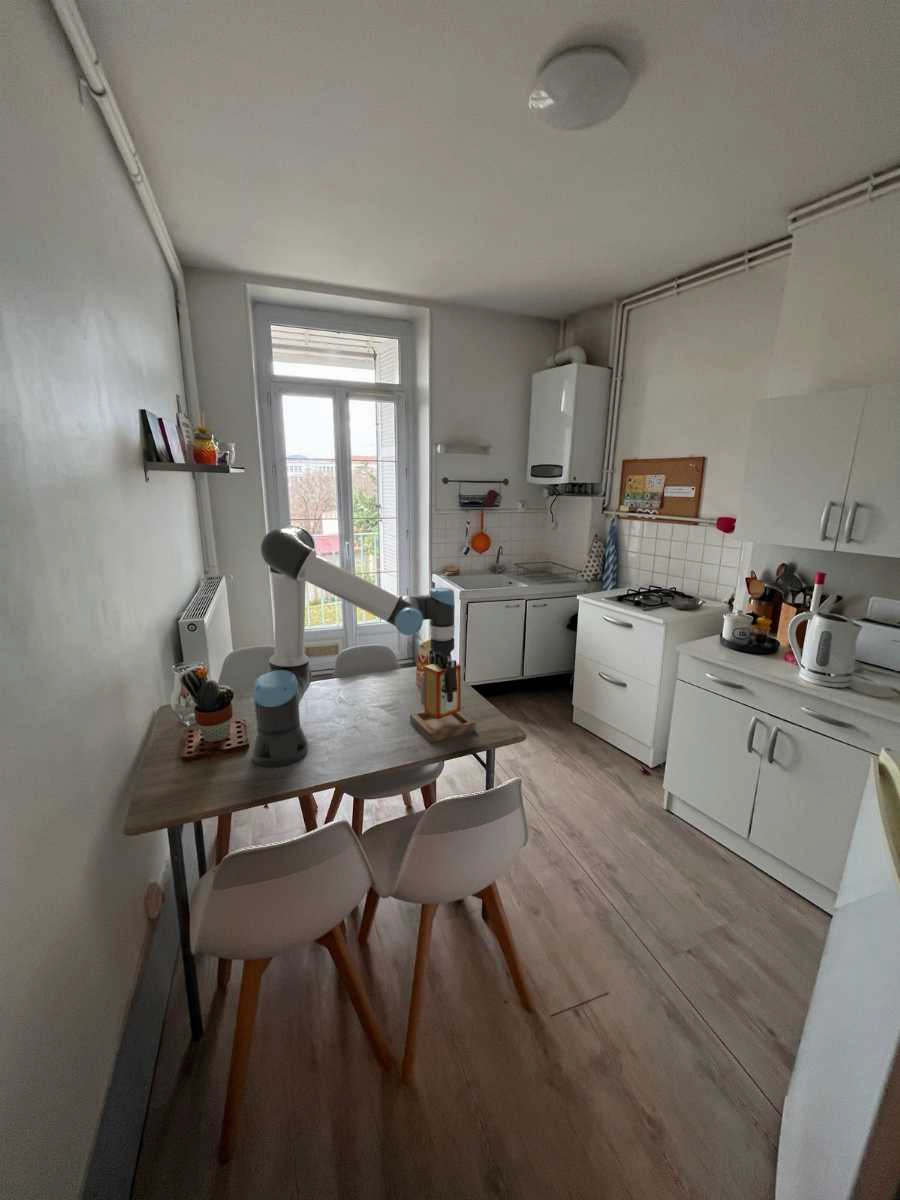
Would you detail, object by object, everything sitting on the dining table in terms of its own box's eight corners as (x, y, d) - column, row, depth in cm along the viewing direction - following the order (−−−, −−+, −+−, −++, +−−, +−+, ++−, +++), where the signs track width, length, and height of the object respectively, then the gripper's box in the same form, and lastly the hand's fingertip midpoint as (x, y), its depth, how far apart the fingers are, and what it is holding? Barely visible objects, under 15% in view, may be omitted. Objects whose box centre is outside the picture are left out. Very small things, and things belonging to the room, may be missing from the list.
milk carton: (431, 679, 197) (431, 631, 193) (445, 685, 190) (446, 637, 186) (413, 684, 192) (412, 636, 187) (427, 691, 185) (427, 641, 180)
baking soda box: (437, 719, 151) (437, 670, 147) (424, 712, 155) (424, 665, 152) (460, 710, 157) (460, 663, 153) (447, 704, 162) (447, 658, 158)
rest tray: (430, 742, 147) (430, 733, 146) (410, 722, 160) (410, 714, 159) (475, 730, 155) (475, 722, 154) (452, 712, 167) (452, 704, 167)
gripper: (469, 644, 144) (468, 715, 149) (437, 627, 161) (438, 692, 166) (447, 648, 140) (447, 720, 145) (417, 631, 157) (418, 696, 162)
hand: (442, 705), depth 156 cm, fingers closed on baking soda box, 7 cm apart
